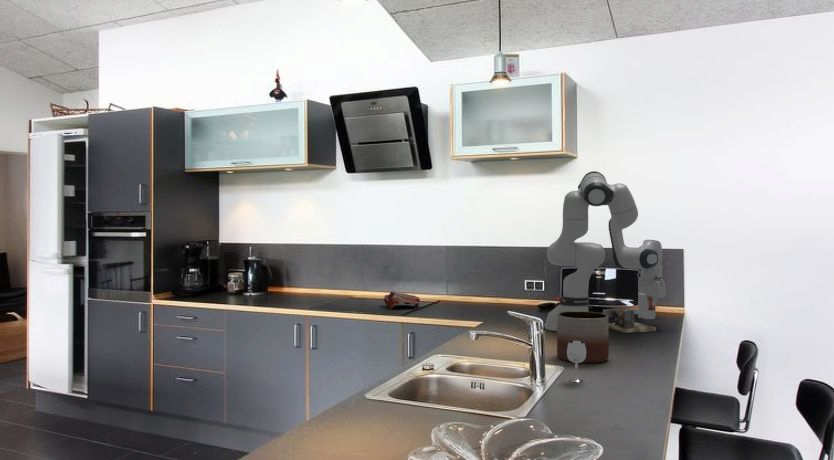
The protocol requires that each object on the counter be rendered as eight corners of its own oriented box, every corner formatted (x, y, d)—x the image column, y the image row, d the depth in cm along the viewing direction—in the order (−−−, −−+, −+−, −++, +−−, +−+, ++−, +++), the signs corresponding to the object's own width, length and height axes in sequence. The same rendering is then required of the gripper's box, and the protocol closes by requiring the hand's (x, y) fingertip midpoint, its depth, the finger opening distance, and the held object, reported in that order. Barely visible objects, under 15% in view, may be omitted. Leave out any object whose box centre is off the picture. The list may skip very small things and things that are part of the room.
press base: (623, 332, 265) (623, 312, 265) (605, 326, 280) (605, 307, 280) (655, 331, 269) (656, 310, 269) (636, 325, 284) (636, 306, 283)
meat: (406, 304, 358) (406, 287, 357) (428, 308, 341) (428, 290, 341) (376, 307, 345) (376, 289, 344) (398, 311, 328) (398, 293, 328)
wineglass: (564, 378, 189) (564, 340, 188) (582, 378, 189) (582, 340, 189) (570, 383, 183) (570, 344, 183) (589, 383, 183) (589, 343, 183)
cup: (656, 319, 300) (656, 295, 300) (639, 318, 302) (639, 294, 302) (653, 316, 308) (653, 293, 308) (636, 316, 310) (637, 292, 310)
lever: (606, 317, 274) (606, 299, 274) (602, 315, 278) (602, 298, 278) (657, 316, 276) (657, 298, 276) (652, 315, 280) (652, 297, 280)
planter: (600, 367, 204) (601, 320, 204) (549, 360, 213) (550, 315, 213) (614, 356, 219) (614, 313, 219) (566, 351, 229) (566, 309, 228)
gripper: (669, 277, 268) (669, 308, 268) (648, 273, 288) (648, 302, 288) (655, 277, 267) (655, 308, 267) (635, 273, 287) (635, 302, 288)
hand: (651, 305), depth 278 cm, fingers closed on lever, 3 cm apart
